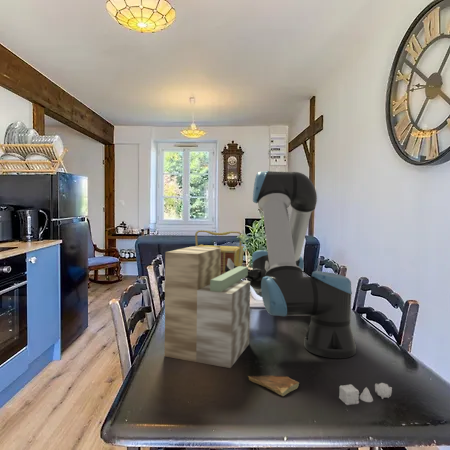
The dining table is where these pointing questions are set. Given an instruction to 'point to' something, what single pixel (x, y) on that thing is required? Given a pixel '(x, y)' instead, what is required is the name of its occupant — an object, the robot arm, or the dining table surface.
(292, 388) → the shard
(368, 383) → the dining table surface
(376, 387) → the game pieces
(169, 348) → the stand
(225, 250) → the picnic basket
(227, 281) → the green block
